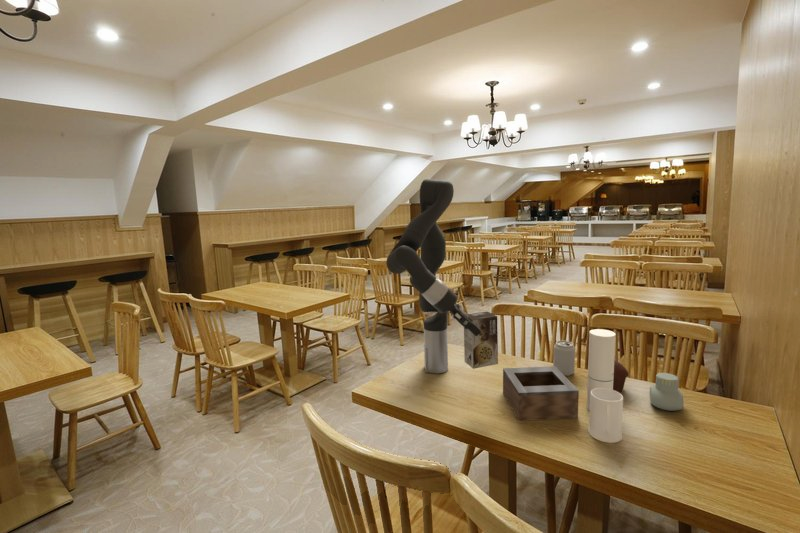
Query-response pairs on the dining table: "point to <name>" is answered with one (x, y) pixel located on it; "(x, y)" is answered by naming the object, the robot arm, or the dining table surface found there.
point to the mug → (606, 415)
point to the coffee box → (481, 341)
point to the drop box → (540, 393)
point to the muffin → (619, 376)
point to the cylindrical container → (600, 360)
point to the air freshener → (666, 392)
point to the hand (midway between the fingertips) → (476, 329)
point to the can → (564, 357)
